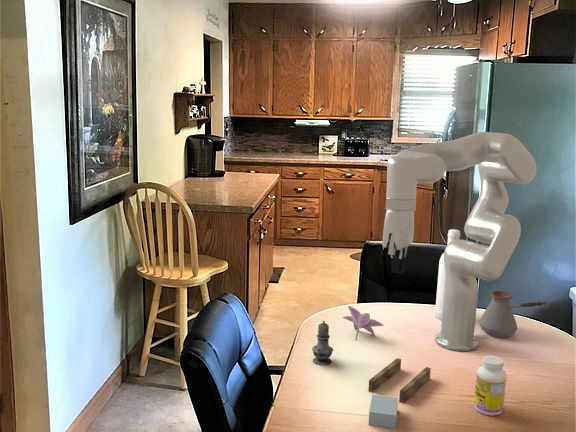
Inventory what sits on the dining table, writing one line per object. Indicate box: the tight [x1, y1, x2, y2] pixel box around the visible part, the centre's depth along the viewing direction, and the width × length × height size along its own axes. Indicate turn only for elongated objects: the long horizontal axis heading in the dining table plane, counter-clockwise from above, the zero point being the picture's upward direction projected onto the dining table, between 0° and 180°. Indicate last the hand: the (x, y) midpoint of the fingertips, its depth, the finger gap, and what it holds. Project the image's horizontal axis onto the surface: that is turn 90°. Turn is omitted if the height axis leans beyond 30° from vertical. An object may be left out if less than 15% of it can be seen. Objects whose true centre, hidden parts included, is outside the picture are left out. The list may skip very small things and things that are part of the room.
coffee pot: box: [478, 290, 549, 339], centre depth 184 cm, size 21×12×15 cm, turn 34°
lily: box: [342, 305, 385, 341], centre depth 183 cm, size 12×12×10 cm
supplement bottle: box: [473, 355, 507, 416], centre depth 142 cm, size 7×7×13 cm
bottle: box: [434, 228, 461, 322], centre depth 198 cm, size 8×8×30 cm
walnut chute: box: [367, 358, 431, 404], centre depth 154 cm, size 16×10×3 cm, turn 144°
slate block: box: [368, 394, 399, 429], centre depth 139 cm, size 8×6×4 cm
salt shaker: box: [311, 320, 334, 366], centre depth 166 cm, size 6×6×12 cm
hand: (398, 272), depth 159 cm, fingers closed
